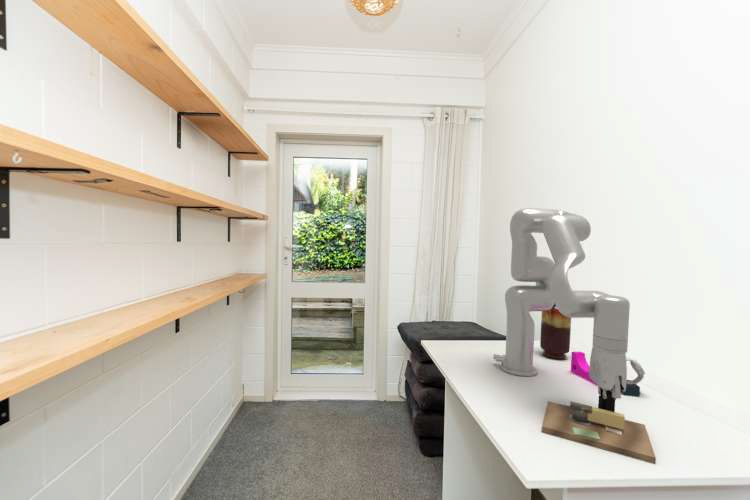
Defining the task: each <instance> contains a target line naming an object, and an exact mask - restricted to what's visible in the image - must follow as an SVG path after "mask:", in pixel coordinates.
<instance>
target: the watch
mask: <svg viewBox="0 0 750 500" xmlns="http://www.w3.org/2000/svg"><path fill="white" fill-rule="evenodd" d="M627 361H629V363H630V366H631V367H632V369H633V370H634V372H635V373H636V374H637V377H635V378H634V379H632V380H631V379H627V382H626V390H625V391H624V392H621V395H624V396H629V397H631V396H632V397H637V398H640V394H641V393H640V391H641V390H640V389H641V387H640V386H639V385H637V384H639V383H640V382H641V381H642V380H643V379H644V378H645V376H644V375H645V373H646V372H645V370H644V368H643V367H642V365H641V364H640V363H639V362H638V360H636V359H632V358H631V357H627V356H626V362H627Z"/></svg>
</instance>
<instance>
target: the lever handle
mask: <svg viewBox="0 0 750 500" xmlns="http://www.w3.org/2000/svg"><path fill="white" fill-rule="evenodd" d="M569 402H570V404H569V406H570V409H573V412H572V418H573V419H574V420H576V421H579V422H583V423H587V422H588V421H592V422H596V423H600V424H604V425H608V426H612V427H616V428H619V429H623V430H624V424H625V420H626V417H625V414H624V413H619V412H616V411H615V412H612V411H608V410H604V409H599V408H598V407H595V406H591V405H587V404H582V403H578V402H576V401H575V402H574V401H571V400H570V401H569Z"/></svg>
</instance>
